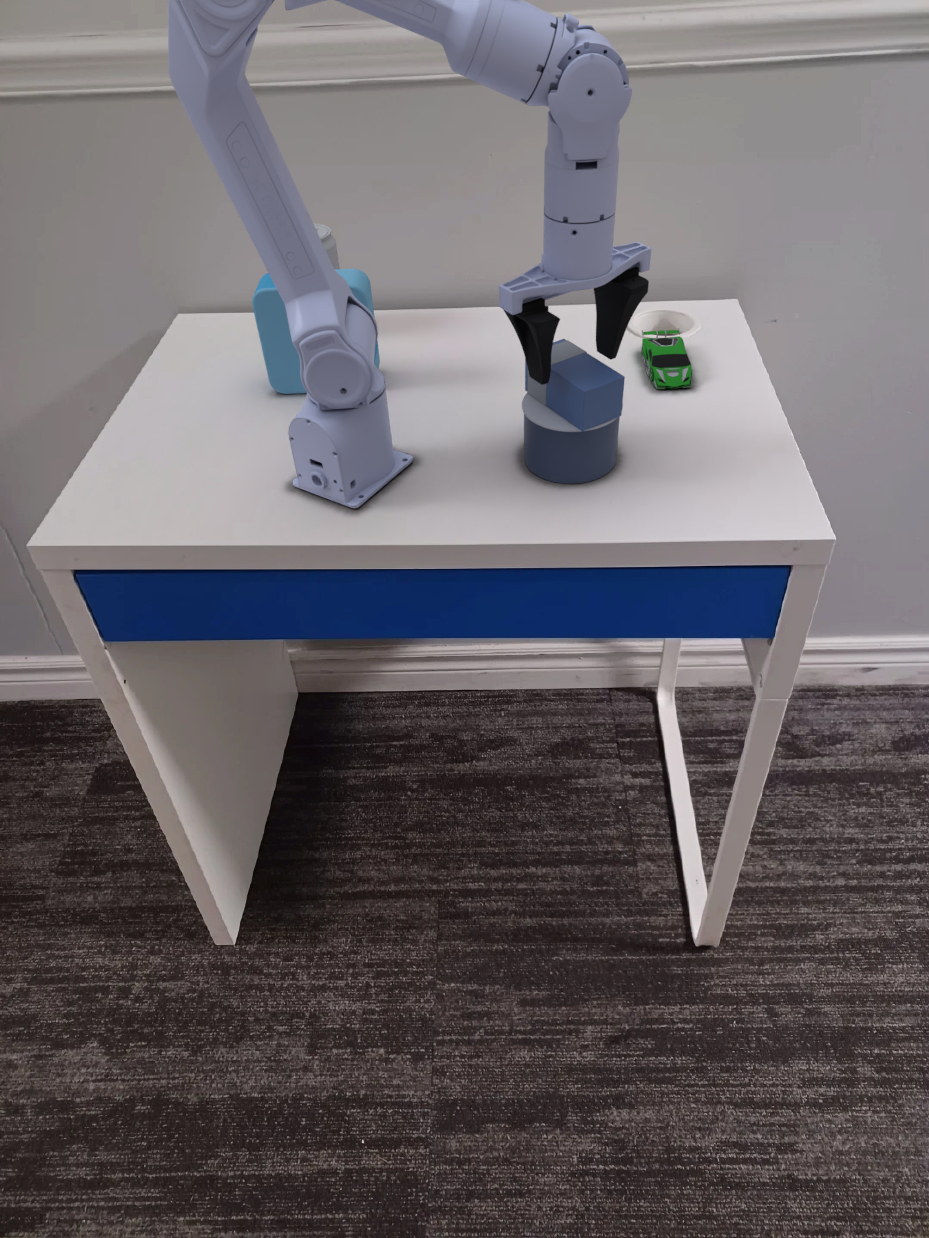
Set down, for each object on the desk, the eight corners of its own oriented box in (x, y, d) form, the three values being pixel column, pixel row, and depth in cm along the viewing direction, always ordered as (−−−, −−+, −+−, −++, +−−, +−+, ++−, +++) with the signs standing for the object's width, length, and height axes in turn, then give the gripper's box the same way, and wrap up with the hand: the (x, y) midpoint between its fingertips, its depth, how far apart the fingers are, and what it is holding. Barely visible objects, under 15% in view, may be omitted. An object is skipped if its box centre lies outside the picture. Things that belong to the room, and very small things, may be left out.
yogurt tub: (590, 496, 82) (593, 440, 78) (504, 468, 86) (502, 413, 82) (634, 447, 88) (639, 393, 84) (551, 423, 92) (552, 370, 88)
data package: (381, 371, 102) (368, 267, 94) (378, 391, 99) (364, 285, 90) (278, 375, 102) (256, 272, 94) (271, 395, 99) (248, 290, 91)
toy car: (696, 389, 95) (698, 370, 94) (652, 391, 96) (654, 372, 94) (679, 346, 103) (681, 327, 101) (638, 348, 103) (639, 329, 101)
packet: (581, 432, 79) (584, 391, 77) (524, 391, 85) (524, 351, 82) (622, 416, 81) (625, 375, 78) (563, 377, 87) (564, 337, 84)
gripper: (618, 179, 76) (608, 328, 86) (476, 218, 71) (482, 373, 80) (674, 201, 72) (657, 356, 81) (526, 245, 67) (526, 405, 76)
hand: (573, 367), depth 81 cm, fingers open, 7 cm apart
